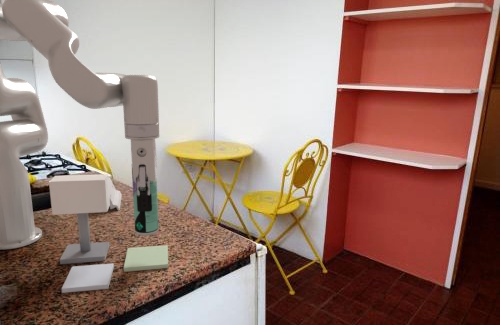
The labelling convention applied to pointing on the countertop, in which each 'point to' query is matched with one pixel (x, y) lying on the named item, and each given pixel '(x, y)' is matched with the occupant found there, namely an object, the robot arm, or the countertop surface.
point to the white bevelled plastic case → (114, 196)
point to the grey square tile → (88, 278)
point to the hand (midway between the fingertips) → (145, 205)
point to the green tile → (146, 258)
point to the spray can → (146, 220)
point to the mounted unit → (81, 212)
